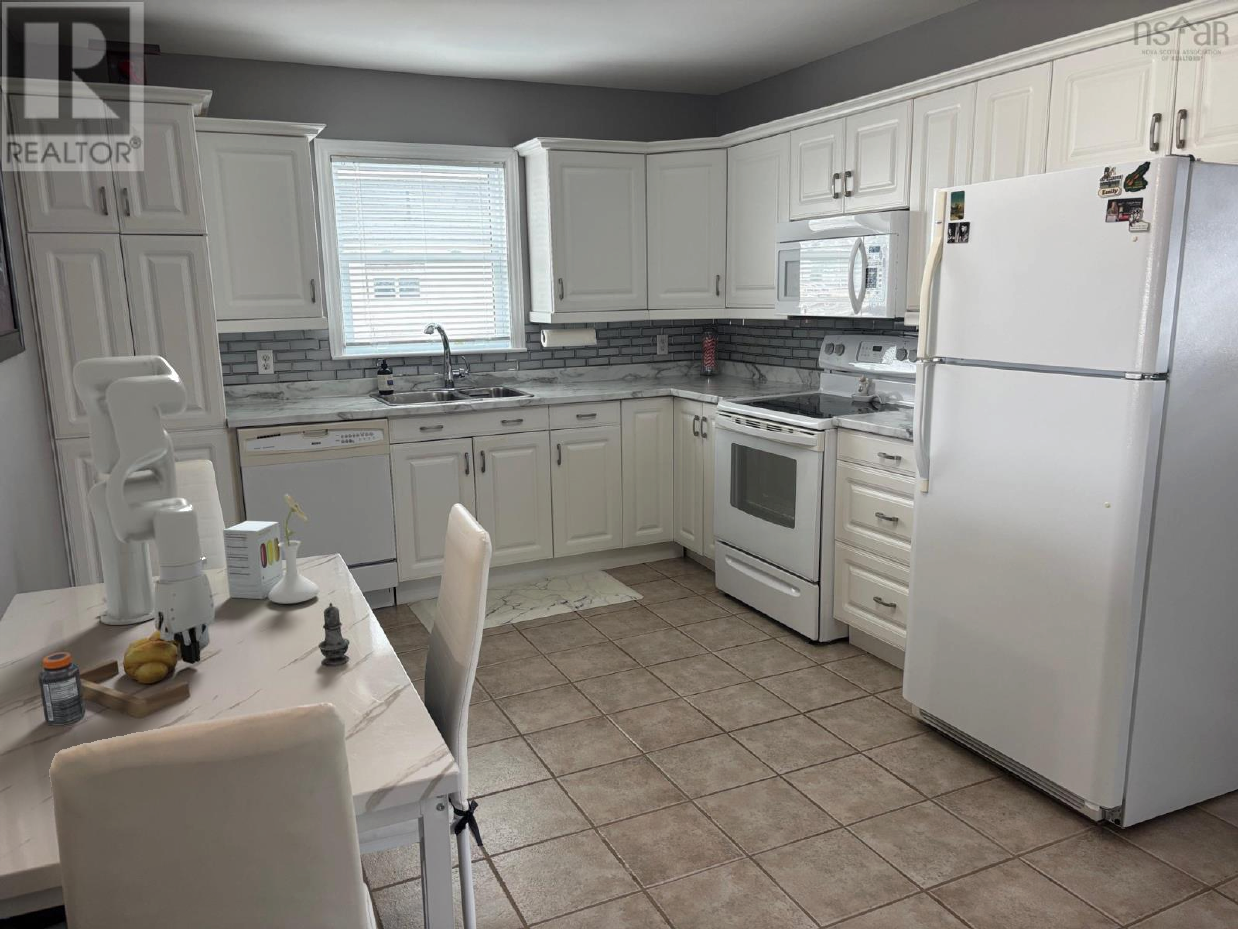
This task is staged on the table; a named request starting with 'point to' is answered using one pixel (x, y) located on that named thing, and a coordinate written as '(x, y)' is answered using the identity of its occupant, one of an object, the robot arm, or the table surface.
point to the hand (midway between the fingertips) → (191, 661)
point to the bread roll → (150, 658)
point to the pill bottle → (61, 690)
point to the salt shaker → (333, 639)
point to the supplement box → (253, 558)
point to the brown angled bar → (124, 700)
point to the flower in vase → (292, 569)
